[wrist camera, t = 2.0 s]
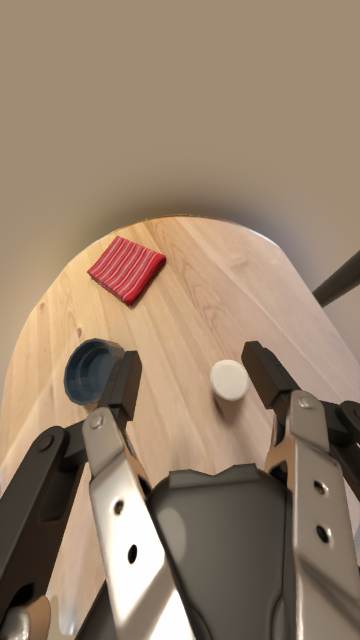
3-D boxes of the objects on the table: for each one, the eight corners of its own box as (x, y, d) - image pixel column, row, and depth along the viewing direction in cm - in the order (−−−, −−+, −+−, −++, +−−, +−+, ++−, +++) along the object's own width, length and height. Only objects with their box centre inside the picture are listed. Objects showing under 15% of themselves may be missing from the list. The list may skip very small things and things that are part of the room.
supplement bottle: (250, 382, 25) (264, 390, 16) (225, 399, 25) (224, 415, 16) (230, 356, 27) (233, 349, 18) (207, 371, 27) (198, 372, 18)
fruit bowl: (107, 333, 38) (90, 328, 33) (139, 361, 32) (125, 360, 28) (76, 376, 36) (55, 377, 32) (104, 413, 31) (84, 421, 26)
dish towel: (132, 308, 38) (126, 304, 35) (90, 276, 48) (83, 271, 45) (170, 260, 39) (166, 252, 37) (121, 238, 49) (115, 232, 47)
